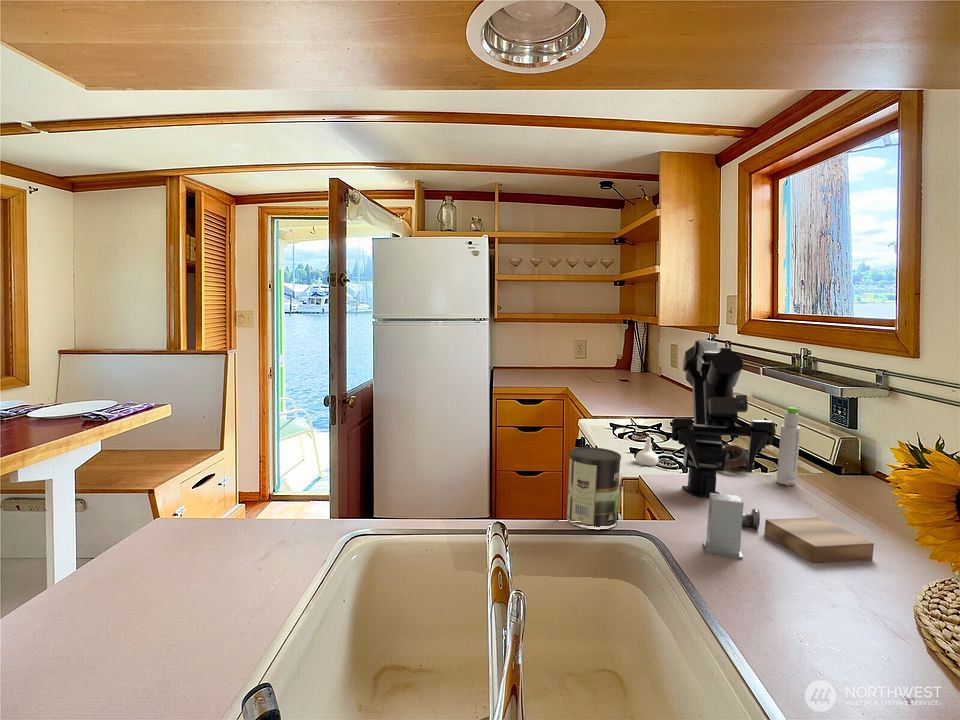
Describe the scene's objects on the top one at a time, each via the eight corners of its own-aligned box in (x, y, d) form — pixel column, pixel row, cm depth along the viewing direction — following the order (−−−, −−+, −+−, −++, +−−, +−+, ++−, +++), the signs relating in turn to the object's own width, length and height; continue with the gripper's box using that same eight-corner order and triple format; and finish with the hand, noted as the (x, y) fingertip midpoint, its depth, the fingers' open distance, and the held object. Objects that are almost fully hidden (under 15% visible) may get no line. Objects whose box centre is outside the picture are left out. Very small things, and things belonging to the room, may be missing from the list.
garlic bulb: (644, 469, 145) (648, 442, 144) (630, 461, 151) (633, 435, 150) (662, 467, 148) (665, 440, 146) (647, 459, 153) (650, 433, 152)
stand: (764, 534, 101) (765, 519, 101) (817, 531, 103) (818, 517, 103) (813, 563, 89) (815, 546, 89) (872, 559, 91) (874, 543, 91)
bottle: (781, 485, 133) (788, 409, 131) (773, 480, 137) (779, 406, 135) (799, 486, 133) (805, 409, 131) (789, 480, 137) (796, 406, 135)
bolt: (725, 525, 105) (727, 508, 104) (724, 519, 108) (725, 502, 108) (758, 530, 103) (760, 513, 102) (755, 523, 106) (757, 507, 106)
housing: (702, 543, 96) (706, 491, 95) (738, 549, 94) (742, 495, 93) (705, 553, 92) (709, 499, 91) (742, 559, 90) (747, 504, 89)
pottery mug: (762, 476, 142) (756, 453, 139) (730, 490, 142) (723, 467, 139) (737, 454, 153) (731, 432, 150) (707, 467, 153) (701, 445, 150)
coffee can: (615, 513, 109) (619, 448, 108) (618, 533, 99) (622, 462, 98) (566, 508, 111) (569, 444, 110) (564, 527, 101) (568, 457, 100)
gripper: (672, 379, 105) (672, 447, 97) (775, 380, 99) (785, 453, 90) (671, 407, 114) (672, 472, 105) (766, 410, 107) (775, 480, 99)
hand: (723, 469), depth 100 cm, fingers open, 9 cm apart
